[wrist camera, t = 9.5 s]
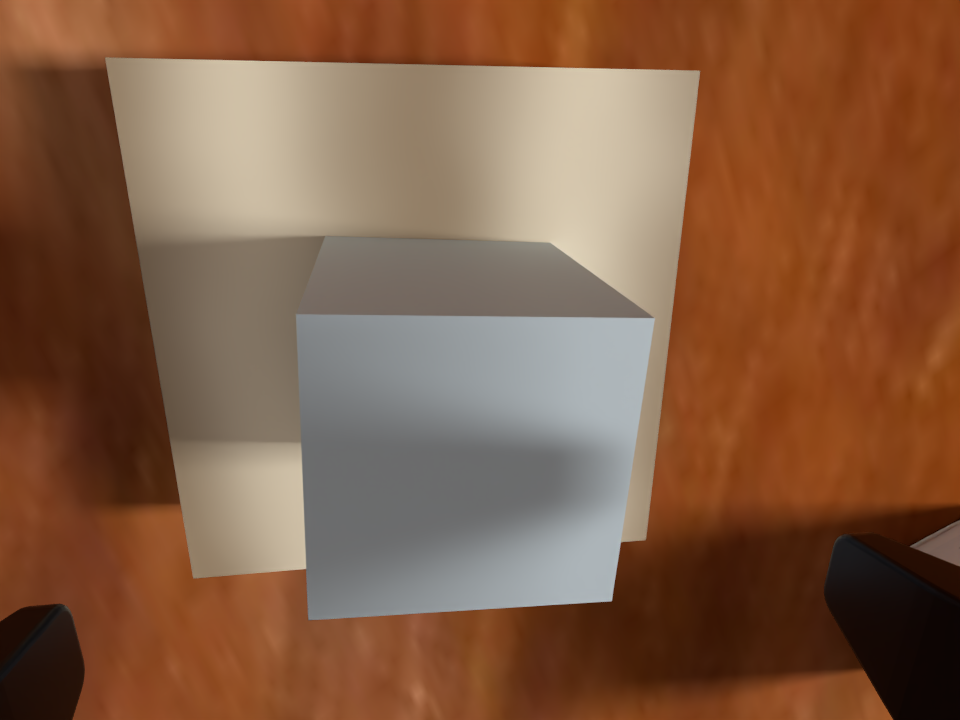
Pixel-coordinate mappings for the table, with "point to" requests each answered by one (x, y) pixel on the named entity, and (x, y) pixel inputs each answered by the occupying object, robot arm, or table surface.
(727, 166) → the table surface
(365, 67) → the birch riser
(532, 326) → the slate block
